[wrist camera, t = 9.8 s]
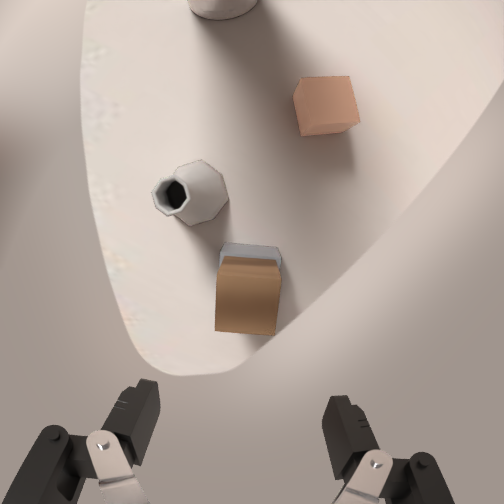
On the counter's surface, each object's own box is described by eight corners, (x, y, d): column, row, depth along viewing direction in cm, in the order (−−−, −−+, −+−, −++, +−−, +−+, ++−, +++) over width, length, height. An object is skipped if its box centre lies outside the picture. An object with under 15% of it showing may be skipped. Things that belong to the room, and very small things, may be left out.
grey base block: (224, 242, 32) (220, 252, 27) (277, 247, 32) (281, 257, 27) (221, 291, 33) (216, 308, 29) (271, 295, 34) (274, 313, 29)
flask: (240, 201, 31) (234, 207, 21) (188, 236, 32) (161, 257, 22) (204, 148, 30) (183, 132, 20) (154, 186, 31) (114, 186, 21)
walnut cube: (224, 255, 27) (216, 274, 21) (275, 259, 27) (281, 279, 22) (222, 302, 28) (214, 331, 23) (270, 306, 29) (274, 335, 23)
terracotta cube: (292, 96, 28) (300, 77, 22) (333, 93, 28) (349, 76, 22) (300, 136, 29) (311, 125, 23) (341, 132, 29) (360, 122, 23)
